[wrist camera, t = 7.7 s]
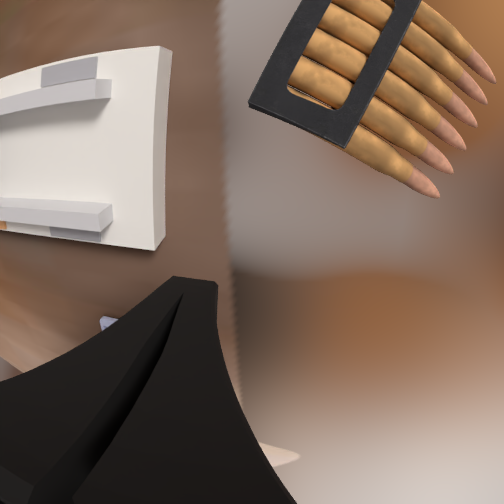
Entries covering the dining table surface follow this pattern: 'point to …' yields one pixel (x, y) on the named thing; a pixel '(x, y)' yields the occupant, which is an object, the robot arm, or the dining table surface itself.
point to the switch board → (87, 148)
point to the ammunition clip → (372, 81)
